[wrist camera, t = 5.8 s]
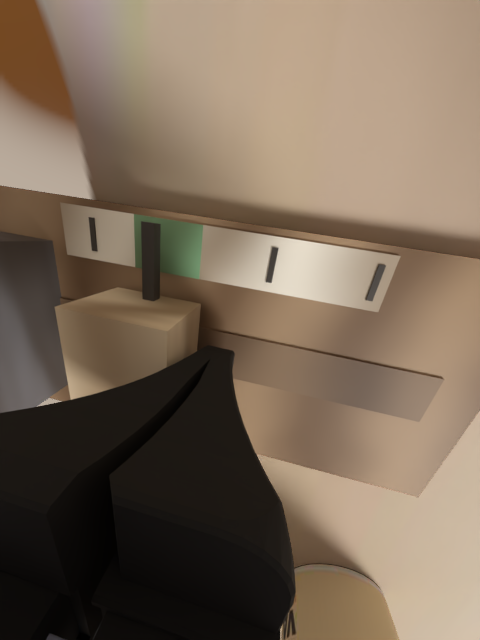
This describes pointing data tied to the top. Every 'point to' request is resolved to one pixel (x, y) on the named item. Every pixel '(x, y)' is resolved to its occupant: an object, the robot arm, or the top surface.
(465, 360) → the gauge base
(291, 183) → the top surface
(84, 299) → the gauge slider
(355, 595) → the coffee cup
